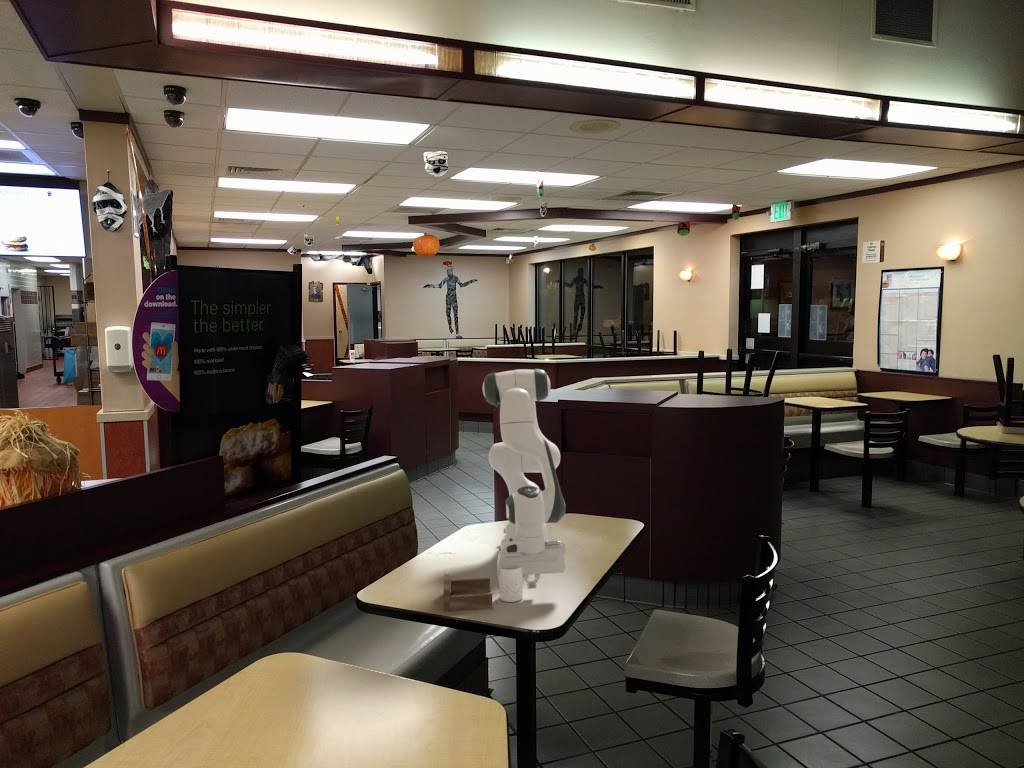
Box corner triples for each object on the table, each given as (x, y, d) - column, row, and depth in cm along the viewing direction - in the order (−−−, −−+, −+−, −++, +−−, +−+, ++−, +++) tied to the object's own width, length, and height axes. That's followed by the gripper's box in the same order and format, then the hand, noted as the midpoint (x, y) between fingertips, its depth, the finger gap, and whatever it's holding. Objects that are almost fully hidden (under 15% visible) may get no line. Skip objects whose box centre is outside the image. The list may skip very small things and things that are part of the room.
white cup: (520, 604, 196) (519, 570, 195) (495, 602, 198) (493, 568, 197) (527, 593, 203) (526, 561, 202) (502, 591, 206) (501, 559, 205)
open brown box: (445, 593, 206) (444, 573, 205) (490, 590, 207) (489, 571, 206) (444, 611, 193) (443, 590, 192) (492, 608, 194) (491, 587, 193)
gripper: (563, 537, 204) (564, 581, 205) (495, 541, 202) (497, 586, 203) (567, 543, 197) (568, 589, 199) (497, 547, 195) (498, 594, 197)
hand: (531, 588), depth 201 cm, fingers closed
